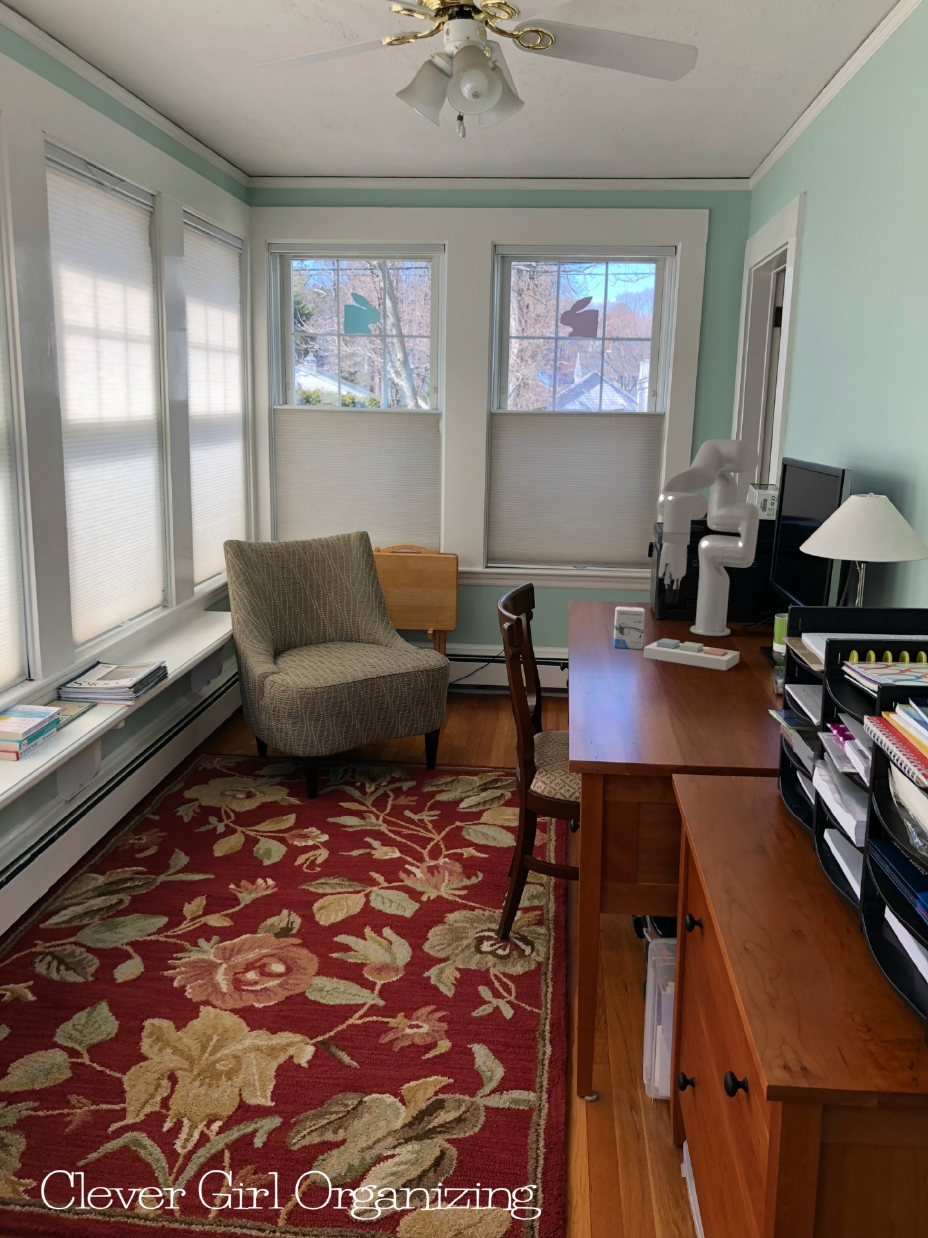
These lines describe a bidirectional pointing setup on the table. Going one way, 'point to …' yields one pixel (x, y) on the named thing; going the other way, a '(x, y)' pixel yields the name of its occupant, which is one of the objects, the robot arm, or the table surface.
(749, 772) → the table surface
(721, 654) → the terracotta button
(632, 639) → the ink box
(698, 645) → the sage button
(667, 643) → the slate button
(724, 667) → the button panel
